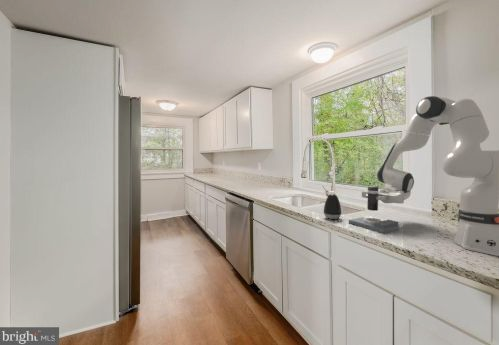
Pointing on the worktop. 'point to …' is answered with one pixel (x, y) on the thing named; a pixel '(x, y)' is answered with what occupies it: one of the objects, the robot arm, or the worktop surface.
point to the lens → (372, 198)
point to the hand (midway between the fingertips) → (371, 197)
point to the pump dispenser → (332, 207)
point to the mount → (375, 224)
